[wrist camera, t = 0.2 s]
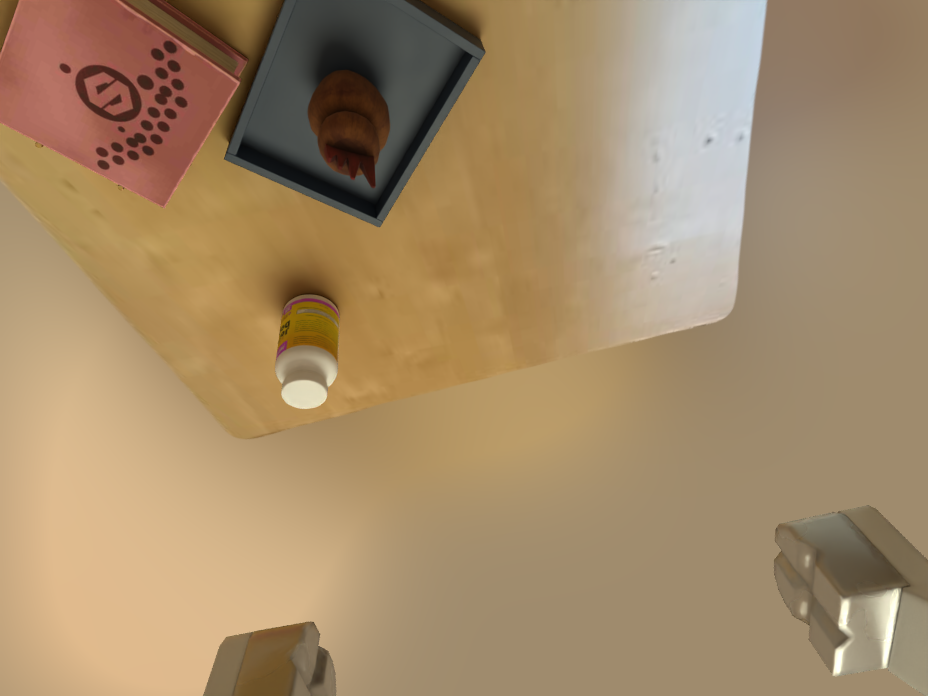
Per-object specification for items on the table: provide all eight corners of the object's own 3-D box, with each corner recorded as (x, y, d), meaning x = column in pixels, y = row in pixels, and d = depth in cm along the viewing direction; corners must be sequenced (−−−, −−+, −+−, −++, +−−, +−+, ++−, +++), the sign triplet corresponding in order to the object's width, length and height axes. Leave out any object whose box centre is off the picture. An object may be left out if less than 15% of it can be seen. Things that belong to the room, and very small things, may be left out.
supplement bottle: (285, 287, 69) (275, 369, 60) (344, 296, 71) (342, 377, 62) (279, 329, 73) (268, 411, 64) (334, 337, 75) (331, 417, 66)
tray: (310, -71, 46) (308, -62, 44) (480, 39, 53) (485, 51, 51) (228, 144, 57) (223, 159, 55) (379, 211, 64) (379, 227, 62)
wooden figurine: (400, 95, 55) (409, 178, 44) (362, 142, 58) (363, 231, 47) (336, 44, 51) (331, 121, 41) (300, 96, 54) (285, 182, 43)
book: (2, 94, 51) (-24, 120, 48) (64, -70, 44) (38, -54, 41) (172, 186, 59) (160, 215, 55) (248, 59, 52) (240, 82, 48)
